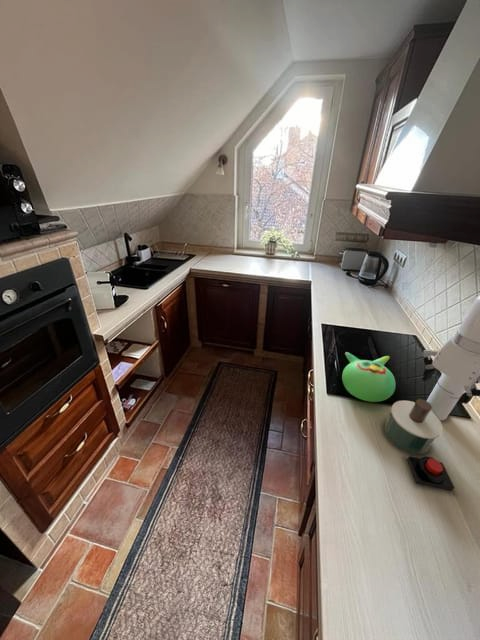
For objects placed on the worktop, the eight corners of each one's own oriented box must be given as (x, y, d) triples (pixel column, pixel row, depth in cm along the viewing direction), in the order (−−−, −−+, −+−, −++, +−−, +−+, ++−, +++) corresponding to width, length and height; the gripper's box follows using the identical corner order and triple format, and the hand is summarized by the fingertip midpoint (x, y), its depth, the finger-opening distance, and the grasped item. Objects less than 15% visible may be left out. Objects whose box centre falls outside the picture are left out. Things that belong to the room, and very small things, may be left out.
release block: (439, 465, 75) (444, 458, 73) (451, 491, 69) (457, 484, 67) (406, 459, 76) (410, 452, 74) (415, 483, 70) (420, 476, 68)
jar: (418, 423, 87) (429, 406, 83) (435, 458, 76) (448, 441, 72) (380, 416, 89) (387, 399, 85) (390, 449, 78) (400, 432, 74)
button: (436, 463, 72) (439, 459, 71) (442, 476, 69) (445, 472, 68) (422, 460, 73) (425, 457, 72) (428, 473, 70) (430, 470, 69)
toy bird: (340, 404, 93) (350, 374, 86) (336, 373, 107) (344, 345, 100) (393, 414, 90) (408, 384, 82) (382, 381, 104) (394, 353, 96)
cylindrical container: (424, 400, 96) (454, 347, 83) (446, 410, 92) (482, 356, 79) (422, 413, 91) (454, 359, 78) (446, 423, 87) (484, 368, 74)
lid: (429, 406, 83) (438, 391, 80) (450, 444, 72) (462, 428, 68) (385, 399, 86) (392, 384, 82) (398, 435, 74) (407, 419, 70)
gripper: (524, 359, 58) (485, 409, 67) (446, 322, 72) (422, 368, 80) (506, 367, 55) (468, 418, 64) (429, 327, 69) (406, 374, 78)
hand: (442, 390), depth 72 cm, fingers open, 9 cm apart
